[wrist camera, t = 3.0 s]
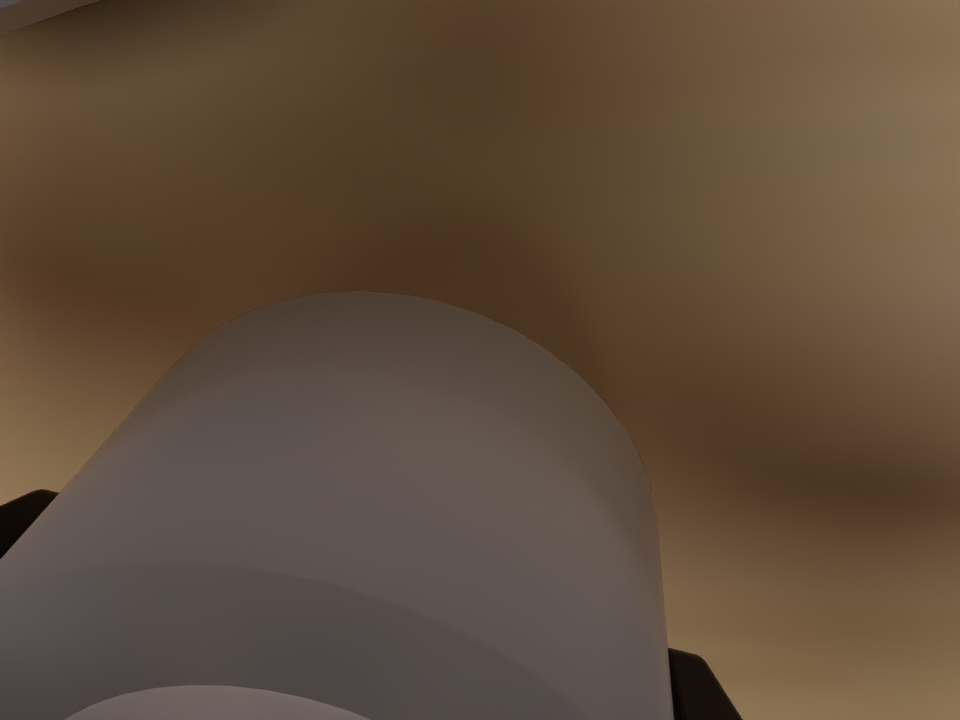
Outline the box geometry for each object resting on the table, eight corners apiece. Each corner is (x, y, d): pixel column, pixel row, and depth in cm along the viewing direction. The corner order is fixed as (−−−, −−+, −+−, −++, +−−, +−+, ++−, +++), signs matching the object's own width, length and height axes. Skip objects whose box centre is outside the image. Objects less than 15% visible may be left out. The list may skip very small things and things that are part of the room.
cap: (738, 377, 9) (833, 718, 5) (574, 765, 12) (562, 1154, 8) (139, 224, 9) (-178, 460, 5) (125, 651, 12) (-85, 991, 8)
